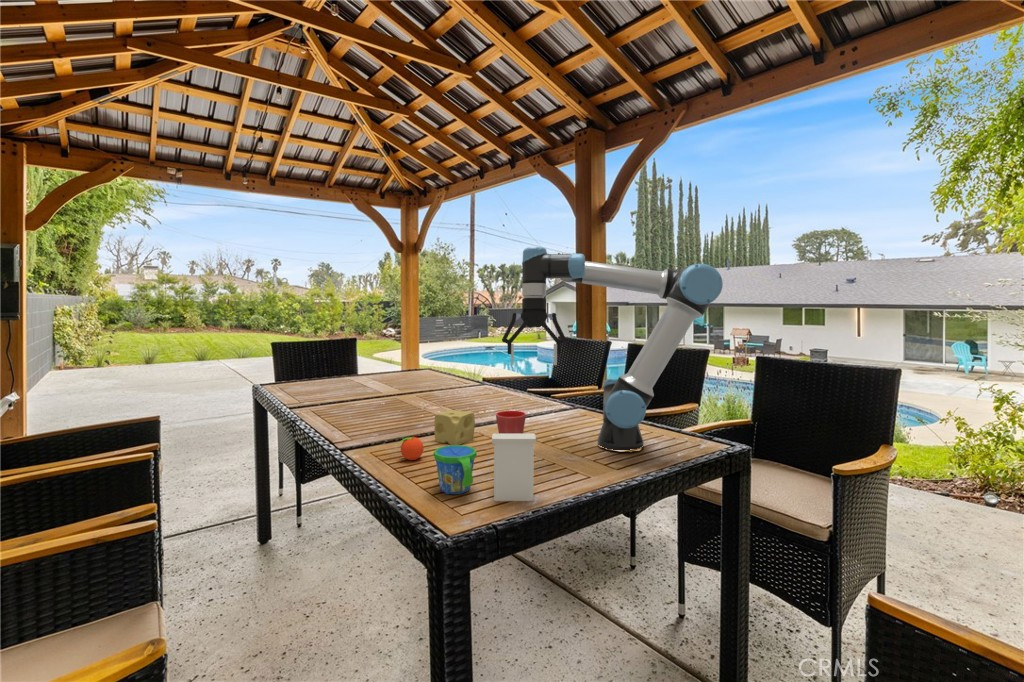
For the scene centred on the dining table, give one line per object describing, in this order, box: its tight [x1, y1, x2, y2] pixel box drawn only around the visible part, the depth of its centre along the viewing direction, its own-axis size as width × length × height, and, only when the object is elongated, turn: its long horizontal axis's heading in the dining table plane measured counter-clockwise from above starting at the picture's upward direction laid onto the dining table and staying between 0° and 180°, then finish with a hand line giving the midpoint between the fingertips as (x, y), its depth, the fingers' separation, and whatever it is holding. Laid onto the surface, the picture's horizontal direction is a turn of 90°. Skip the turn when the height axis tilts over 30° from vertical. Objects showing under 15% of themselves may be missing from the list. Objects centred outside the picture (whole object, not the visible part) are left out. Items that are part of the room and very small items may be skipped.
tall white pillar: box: [491, 433, 537, 502], centre depth 117 cm, size 10×12×15 cm
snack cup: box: [433, 444, 478, 495], centre depth 118 cm, size 16×10×10 cm
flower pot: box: [495, 410, 527, 434], centre depth 165 cm, size 11×11×10 cm
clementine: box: [398, 436, 425, 461], centre depth 143 cm, size 8×7×7 cm
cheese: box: [434, 409, 476, 446], centre depth 165 cm, size 10×11×10 cm
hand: (533, 364), depth 148 cm, fingers open, 13 cm apart
